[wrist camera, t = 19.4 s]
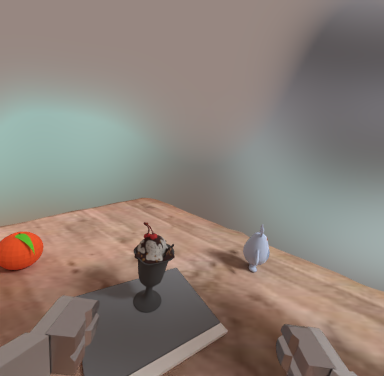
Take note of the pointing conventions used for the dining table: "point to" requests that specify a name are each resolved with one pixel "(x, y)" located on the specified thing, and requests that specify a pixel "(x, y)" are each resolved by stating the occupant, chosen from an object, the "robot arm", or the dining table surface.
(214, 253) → the dining table surface
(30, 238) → the clementine
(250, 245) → the toy figure
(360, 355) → the dining table surface
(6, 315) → the dining table surface
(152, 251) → the sundae
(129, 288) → the mat
